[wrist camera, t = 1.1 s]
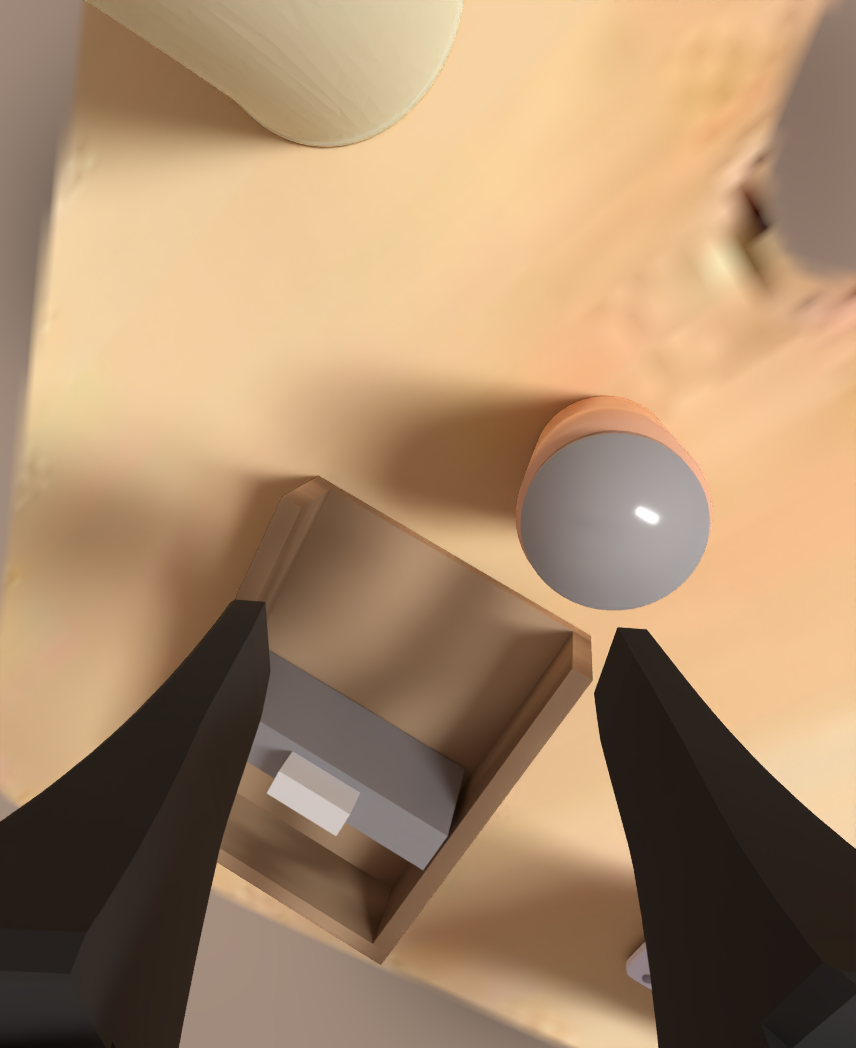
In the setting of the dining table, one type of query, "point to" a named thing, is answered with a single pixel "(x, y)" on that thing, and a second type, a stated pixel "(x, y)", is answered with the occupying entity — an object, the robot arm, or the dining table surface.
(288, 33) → the can
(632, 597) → the jar
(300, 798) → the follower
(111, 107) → the dining table surface
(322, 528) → the brown wooden tray
